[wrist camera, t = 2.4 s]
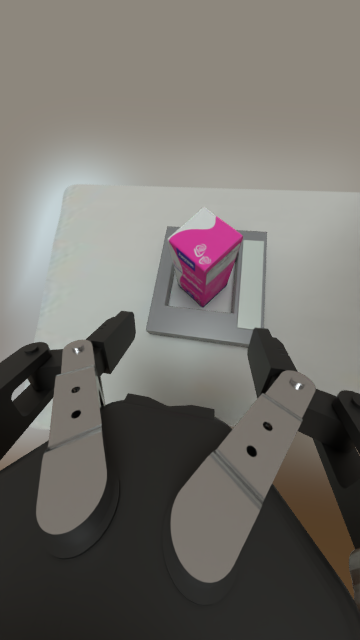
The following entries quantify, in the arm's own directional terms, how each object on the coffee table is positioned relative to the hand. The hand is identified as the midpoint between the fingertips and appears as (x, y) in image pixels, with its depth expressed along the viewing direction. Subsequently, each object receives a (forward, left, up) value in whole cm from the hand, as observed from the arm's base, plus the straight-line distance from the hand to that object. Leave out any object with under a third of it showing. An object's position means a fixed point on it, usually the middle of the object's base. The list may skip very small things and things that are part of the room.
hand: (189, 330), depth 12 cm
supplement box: (0, -11, -15) cm, 19 cm away
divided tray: (-1, -11, -15) cm, 18 cm away
